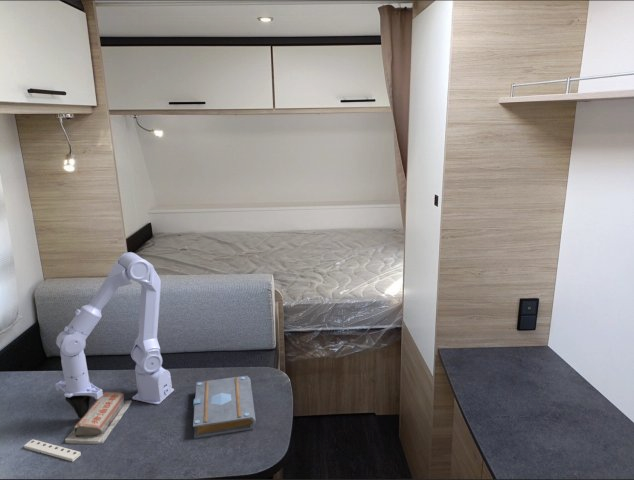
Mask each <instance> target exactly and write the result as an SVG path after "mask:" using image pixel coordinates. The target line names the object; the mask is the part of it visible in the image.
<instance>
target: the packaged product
mask: <svg viewBox="0 0 634 480" xmlns="http://www.w3.org/2000/svg"><path fill="white" fill-rule="evenodd" d="M102 392H103V391H102ZM124 394H125V393H122V392H121V391H104V392H103V396H102V397H100V398H99V399H96V401H94V403H93V404H92V405H91V406H90V407H89V410H88V411H87V413H86V414H85V415H84V416H83V417H82V418H80V419H79V421H77V423H76V424H75V425H74V428H73V430H72V431H71V432H70V433H69V434H68V435H67V437H66V438H65V439H64V441H65V444H74V445H75V444H82V445H90V444H91V445H100V444H101V445H102V444H103V443H105V441H106V440H107V438H108V437H109V435H110V433H111V432H112V431H113V429H114V428H115V427H116V425H117V424H118V423H119V421H121V418H122V417H123V416H124V414H125V412H127V410H128V408H129V407H130V405H131V404H132V403H133V401H132V400H125V395H124Z"/></svg>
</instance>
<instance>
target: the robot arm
mask: <svg viewBox="0 0 634 480" xmlns="http://www.w3.org/2000/svg"><path fill="white" fill-rule="evenodd" d="M131 280H132V281H134V282H137V283H138V284H139V285H140V286H141V287H140V289H141V290H140V305H139V306H140V307H139V320H138V334H137V335H138V336H137V337H136V338H135V340H134V346H133V347H132V349H131V352H130V356H131V357H130V358H132V360H133V361H134V362H135V367H134V368H135V369H134V371H135V378H136V387H137V393H136V394H135V395H133V396H132V398H131V399H132V400H134V401H135V400H136V401H138V402H139V401H140V402H144V403H147V404H152V405H153V404H154V405H159V404H161V403H162V401H164V400H165V399H167V398H168V396H170V395H171V394H172V393H173V392H174V391H175V388H173V385H172V376H171V372H170V371H169V370H167V369H165V368H164V367H163V366H162V365H163V357H162V355H161V347H160V344H159V341H158V330H159V329H158V327H159V318H160V317H159V315H160V313H159V312H160V302H161V301H160V300H161V288H162V287H161V286H162V280H161V278H160V276H159V275H158V273H157V271H156V270H155V268H154V265H153V264H152V263H150V262H149V261H148V260H146V259H144V258H142V257H141V256H140V255H138V254H136V253H135V252H132V251H130V252H124V253H123V254H122V255H120V256H119V257H118V260H117V261H116V262H115V263H114V264H113V266H112V267H111V269H110V272H109V273H108V275H107V276H106V277H105V279H104V281H103V283H102V284H101V286H100V287H99V289H98V290H97V292H96V293H95V295H94V297H93V298H92V300H91V301H90V303H89V304H88V303H87V304H85V305H82V306H80V309H79V308H77V309H76V310H75V311H74V314H75V315H74V317H73V318H72V320H71V321H70V323H69V324H68V325H66V326H65V327H64V328H63V331H60V332H59V334H58V335H57V337H56V340H55V344H56V346H57V348H59V352H60V358H61V360H60V362H61V367H62V368H61V369H62V373H63V378H64V380H59V382H57V383H55V384H54V387H55V391H57V392H60V391H62V392H64V397H65V401H66V402H67V403H69V404H70V406H71V407H72V408H73V410H74V411H75V414H76V415H77V418H78V419H81V418H82V417H83V416H84V415H85V414H86V413H87V411H88V410H89V409H90V404H91V400H92V398H94V399H95V400H98V399H99V398H100V397H102V396H103V389H102V388H99V387H97V386H96V385H94V384H93V383H92V382H90V376H89V370H88V365H87V359H86V354H85V352H84V349H86V342H87V341H86V340H87V338H88V337H89V336H90V334H91V333H92V331H93V330H94V329H95V328H96V325H98V323H99V322H100V320H101V318H102V317H103V316H102V309H103V308H104V307H105V306H106V305H107V303H109V300H111V298H112V297H113V296H114V295H115V293H116V292H117V291H118V289H119V288H121V287H123V286H128V285H132V281H131Z"/></svg>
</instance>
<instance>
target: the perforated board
mask: <svg viewBox="0 0 634 480" xmlns="http://www.w3.org/2000/svg"><path fill="white" fill-rule="evenodd" d="M23 447H24V449H26V450H29V451H33V452H37V453H40V452H41V454H44V455H48V456H51V457H54V458H59V459H62V460H66V461H69V462H74V461H75V460H77V458H79V457H80V456H81V455H82V454H81V451H78V450H74V449H70V448H67V447H64V446H60V445H56V444H51V443H49V442H44V441H41V440H37V439H31V440H29V441H28V442H26V444H24V445H23Z"/></svg>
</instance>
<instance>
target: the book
mask: <svg viewBox="0 0 634 480" xmlns="http://www.w3.org/2000/svg"><path fill="white" fill-rule="evenodd" d="M253 396H254V395H253V389H252V381H251V378H250V377H249V376H248V375H242V376H234V377H233V376H232V377H226V378H220V379H217V378H216V379H210V380H205V381H196V386H195V398H193V401H192V402H193V403H192V408H193V422H192V424H193V425H192V427H193V428H194V435H193V436H194V439H197V438H202V437H203V438H204V437H205V438H206V437H210V436H216V435H217V436H218V435H223V434H224V435H225V434H230V433H235V432H243V431H248V430H249V431H250V430H254V428H255V427H256V425H257V421H256V412H255V405H254V397H253Z"/></svg>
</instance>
